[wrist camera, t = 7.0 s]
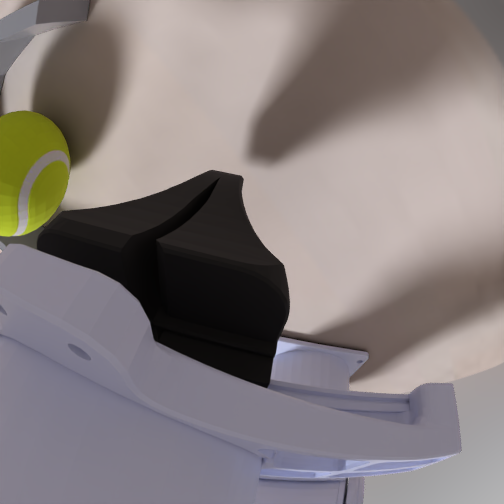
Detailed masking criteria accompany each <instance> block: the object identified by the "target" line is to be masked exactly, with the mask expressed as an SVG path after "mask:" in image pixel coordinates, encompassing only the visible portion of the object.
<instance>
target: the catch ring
mask: <svg viewBox="0 0 504 504" xmlns="http://www.w3.org/2000/svg"><path fill="white" fill-rule="evenodd" d="M89 3H90V0H38V1H35V2H33V3H31V4H29V5H27V6H25V7H23V8H21V9H19V10H17V11H15V12H13V13H11V14H9V15H8V16H6V17H4V18H2V19H1V20H0V93H1V88H2V84H3V80H4V76H5V74H6V72H7V71H8V69H9V68H10V66H11V65H12V64H13V62H14V61H15V60H16V58H17V57H18V56H19V54H20V53H21V52H22V51H23V49H24V48H25V47H26V46H27V44H28V43H29V42H30V41H31V40H32V39H33V37H34V36H35V35H38V34H41V33H44V32H47V31H50V30H53V29H56V28H60V27H63V26H67V25H71V24H75V23H79V22H83V21H87V17H88V10H89ZM44 229H45V228H44V227H43V226H42V225H41V226H40V227H39V228H38V229H36V230H34V231H32V232H30V233H28V234H25V235H21V236H10V237H8V236H0V249H1V250H2V251H3V250H4V249H5V248H6V247H7V246H8V245H9V244H23V245H26V246H28V247H31V248H34V249H36V250H37V242H36V241H37V238H38V235H39V234H40V233H41V232H42V231H43V230H44Z"/></svg>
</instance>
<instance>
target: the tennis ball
mask: <svg viewBox="0 0 504 504" xmlns="http://www.w3.org/2000/svg"><path fill="white" fill-rule="evenodd" d="M69 174H70V155H69V150H68V146H67V143H66V140H65V138H64V136H63V134H62V132H61V131H60V130H59V128H58V127H57V126H56V125H55V124H54V123H53V121H51V120H50V119H48V118H47V117H45V116H43V115H42V114H39V113H36V112H31V111H16V112H11V113H8V114H5V115H3V116H1V117H0V236H8V237H10V236H21V235H25V234H28V233H30V232H32V231H34V230H36V229H38V228H39V227H40V226H41V225H43V224H44V223H45V222H46V221H48V220H49V219H50V217H51V216H52V215H53V214H54V213H55V211H56V210H57V208H58V207H59V205H60V203H61V201H62V200H63V198H64V195H65V192H66V189H67V185H68V179H69Z"/></svg>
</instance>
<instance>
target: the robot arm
mask: <svg viewBox="0 0 504 504" xmlns="http://www.w3.org/2000/svg"><path fill="white" fill-rule="evenodd" d="M243 180H244V179H243V177H242V176H240V175H235V174H230V173H225V172H220V171H215V170H210V171H207V172H205V173H203V174H201V175H198V176H196V177H194V178H192V179H190V180H188V181H185V182H183V183H181V184H179V185H176V186H174V187H171V188H169V189H167V190H164V191H162V192H159V193H156V194H153V195H150V196H147V197H144V198H141V199H137V200H133V201H128V202H124V203H120V204H116V205H110V206H105V207H98V208H91V209H81V210H70V211H62V212H61V213H60V214H59V215H58V216H57V217H56V218H55V219H54V220H53V221H52V222H51V223H50V224H49V225H48V226H47V227H46V228H45V229H44V230H43V231H42V232H41V233H40V234H39V235H38V238H37V241H36V242H37V250H36V249H34V248H31V247H28V246H26V245H23V244H9V245H8V246H7V247H6V248H5V249H4V250H3V251H2V252H1V253H0V504H363V498H364V477H363V476H375V475H384V474H393V473H401V472H407V471H413V470H416V469H419V468H422V467H425V466H428V465H431V464H434V463H437V462H439V461H442V460H444V459H447V458H449V457H452V456H454V455H457V454H459V453H460V452H461V451H462V449H461V438H460V437H461V436H460V427H459V419H458V412H457V405H456V399H455V392H454V387H453V384H452V383H426V384H423V385H420V386H418V387H417V388H415V389H414V390H413V391H412V392H411V393H410V394H386V393H371V392H358V391H349V378H350V377H351V376H352V375H353V374H354V373H355V372H356V371H357V370H358V369H359V368H360V367H361V366H362V365H363V364H364V363H365V362H366V361H367V360H368V358H369V354H368V353H367V352H365V351H358V350H351V349H345V348H339V347H333V346H327V345H321V344H316V343H310V342H305V341H300V340H295V339H290V338H285V337H280V335H281V333H282V331H283V329H284V326H285V324H286V322H287V320H288V316H289V310H290V299H289V288H288V282H287V277H286V272H285V268H284V265H283V264H282V263H281V262H280V261H279V260H278V259H277V258H276V257H275V256H274V255H273V254H272V253H271V252H270V251H269V250H268V249H267V248H266V247H265V246H264V245H263V243H262V242H261V241H260V239H259V238H258V236H257V235H256V233H255V231H254V229H253V228H252V226H251V224H250V221H249V219H248V217H247V214H246V211H245V207H244V204H243V199H242V186H243ZM348 477H349V482H348ZM347 485H348V486H347Z"/></svg>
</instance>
